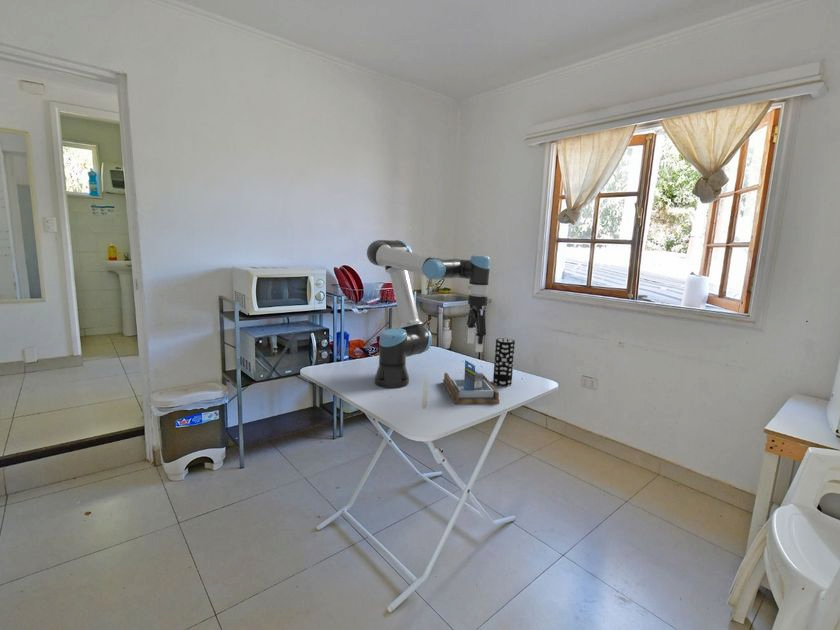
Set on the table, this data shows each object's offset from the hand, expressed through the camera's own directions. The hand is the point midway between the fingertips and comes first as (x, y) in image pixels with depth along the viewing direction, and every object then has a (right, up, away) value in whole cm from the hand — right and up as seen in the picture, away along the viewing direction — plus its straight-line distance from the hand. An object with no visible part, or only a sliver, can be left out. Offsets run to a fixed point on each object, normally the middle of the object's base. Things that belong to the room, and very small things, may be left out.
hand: (474, 347), depth 165 cm
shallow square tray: (-1, -19, +4) cm, 19 cm away
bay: (-1, -20, +8) cm, 21 cm away
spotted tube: (+15, -18, +21) cm, 32 cm away
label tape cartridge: (-1, -19, +3) cm, 19 cm away
